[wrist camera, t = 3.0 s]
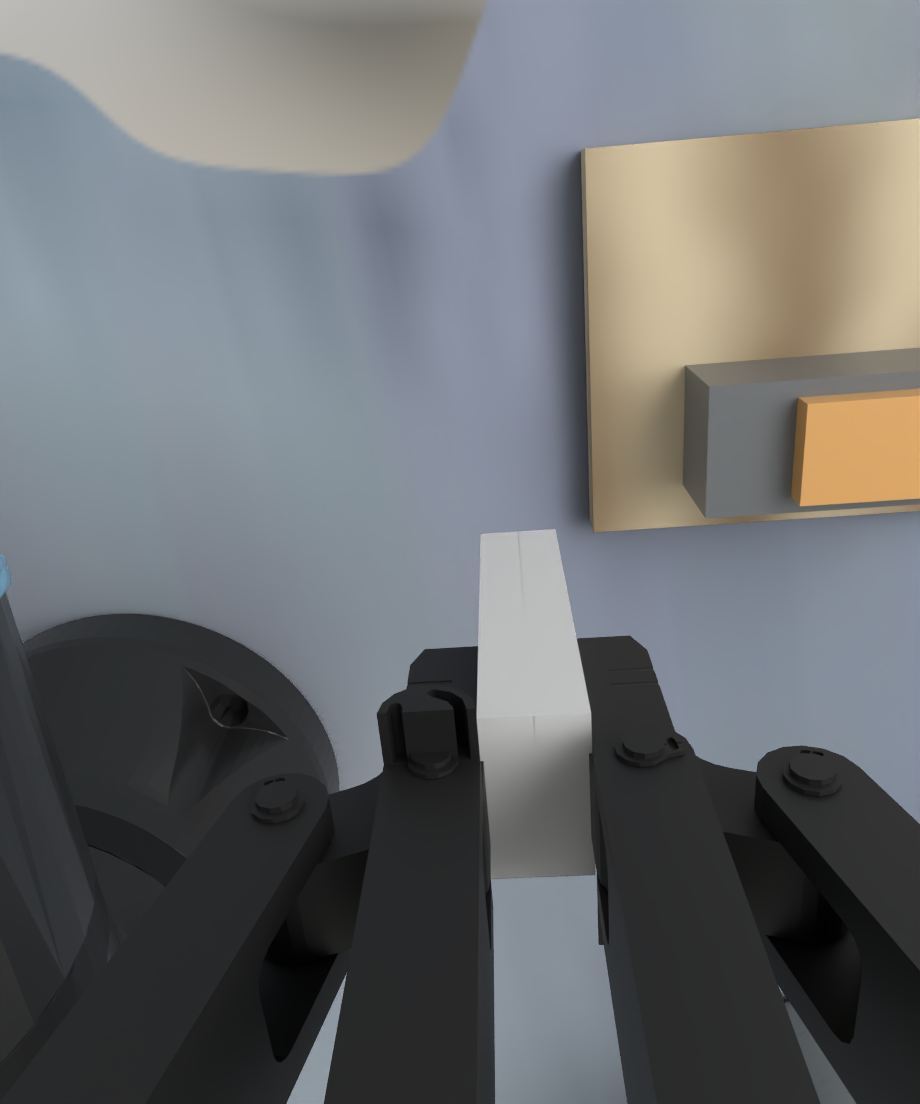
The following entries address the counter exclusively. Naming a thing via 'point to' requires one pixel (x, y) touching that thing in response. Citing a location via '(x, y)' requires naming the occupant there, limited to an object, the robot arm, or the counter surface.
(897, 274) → the plywood panel
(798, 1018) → the water bottle
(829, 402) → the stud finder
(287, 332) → the counter surface
